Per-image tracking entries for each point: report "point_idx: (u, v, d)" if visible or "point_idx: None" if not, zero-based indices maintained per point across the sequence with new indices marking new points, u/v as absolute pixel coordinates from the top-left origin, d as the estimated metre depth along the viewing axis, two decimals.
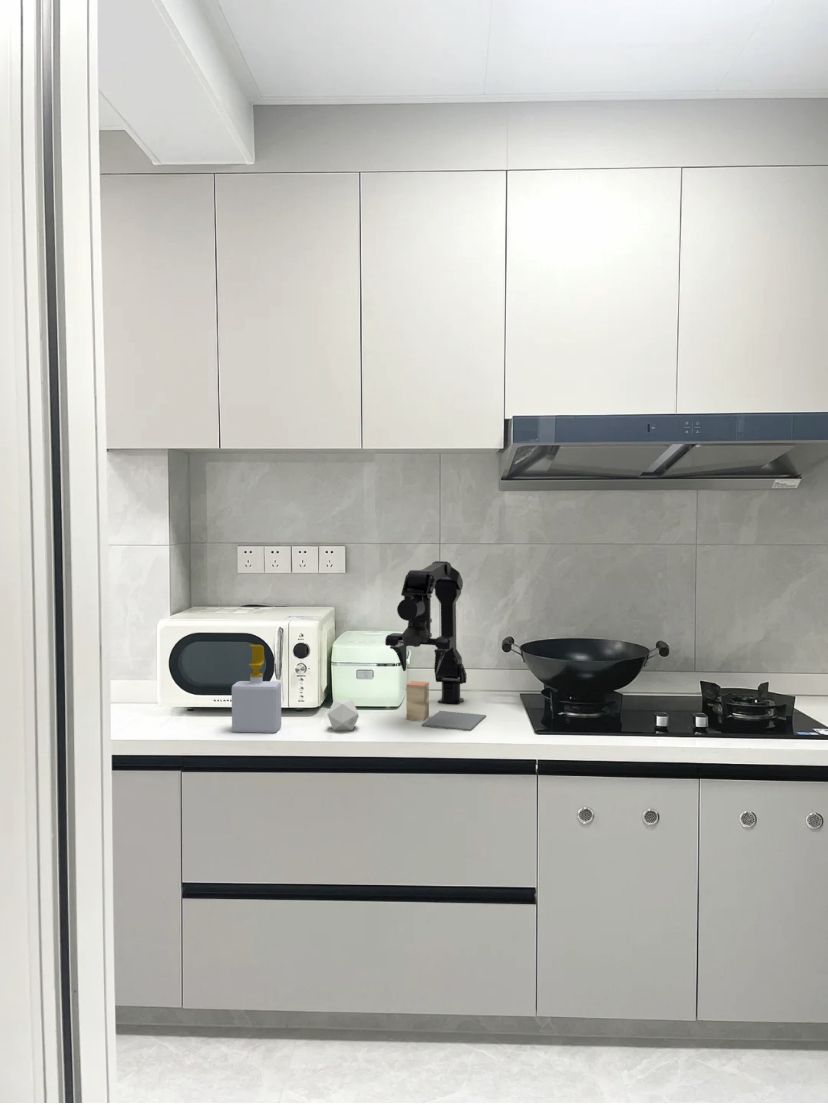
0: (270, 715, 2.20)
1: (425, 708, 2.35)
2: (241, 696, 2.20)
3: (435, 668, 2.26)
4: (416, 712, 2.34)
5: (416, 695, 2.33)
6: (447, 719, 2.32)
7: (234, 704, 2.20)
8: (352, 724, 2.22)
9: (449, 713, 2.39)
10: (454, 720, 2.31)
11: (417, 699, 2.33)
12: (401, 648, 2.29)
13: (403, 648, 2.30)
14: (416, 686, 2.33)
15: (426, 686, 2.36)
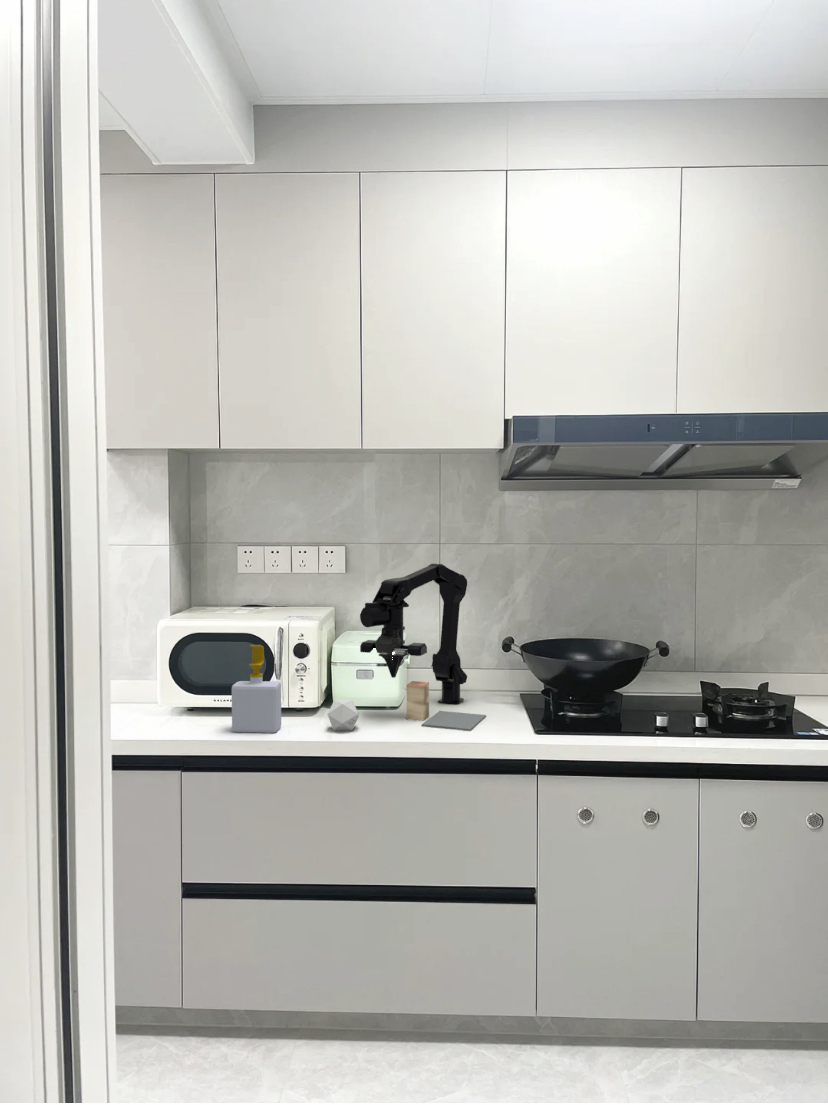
0: (270, 715, 2.20)
1: (425, 708, 2.35)
2: (241, 696, 2.20)
3: (393, 673, 2.37)
4: (416, 712, 2.34)
5: (416, 695, 2.33)
6: (447, 719, 2.32)
7: (234, 704, 2.20)
8: (352, 724, 2.22)
9: (449, 713, 2.39)
10: (454, 720, 2.31)
11: (417, 699, 2.33)
12: (389, 655, 2.37)
13: (391, 655, 2.38)
14: (416, 686, 2.33)
15: (426, 686, 2.35)
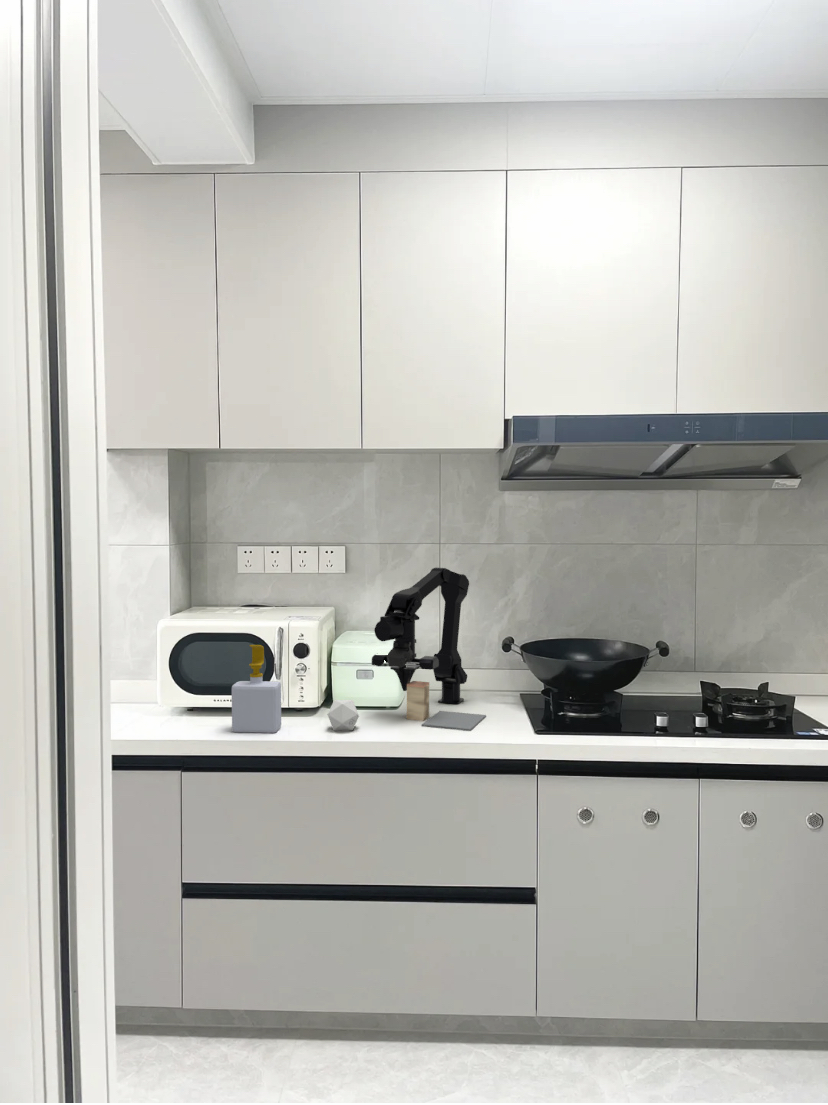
0: (270, 715, 2.20)
1: (425, 708, 2.35)
2: (241, 696, 2.20)
3: (404, 686, 2.36)
4: (416, 712, 2.34)
5: (416, 695, 2.33)
6: (447, 719, 2.32)
7: (234, 704, 2.20)
8: (352, 724, 2.22)
9: (449, 713, 2.39)
10: (454, 720, 2.31)
11: (417, 699, 2.33)
12: (401, 669, 2.36)
13: (403, 669, 2.37)
14: (416, 686, 2.33)
15: (427, 686, 2.35)
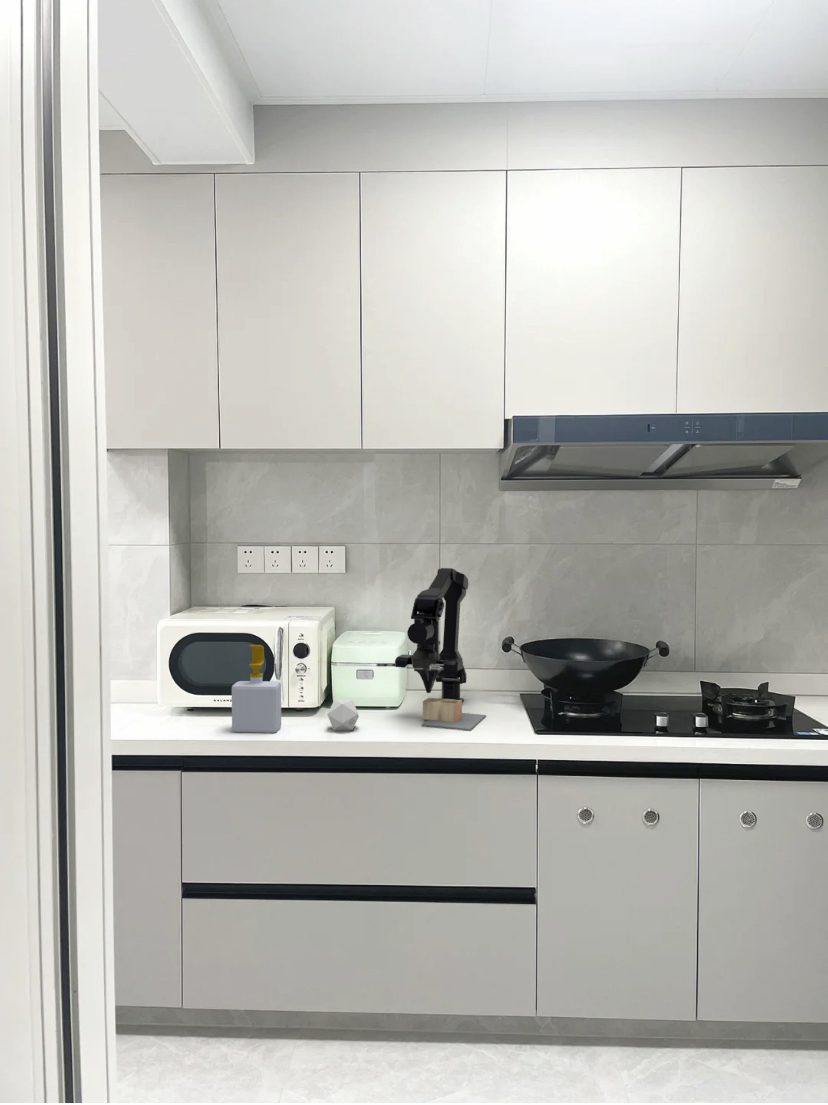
0: (270, 715, 2.20)
1: None
2: (241, 696, 2.20)
3: (428, 688, 2.34)
4: (430, 712, 2.32)
5: (446, 714, 2.30)
6: None
7: (234, 704, 2.20)
8: (352, 724, 2.22)
9: None
10: None
11: (442, 714, 2.31)
12: (425, 670, 2.33)
13: (427, 670, 2.35)
14: (455, 715, 2.30)
15: None
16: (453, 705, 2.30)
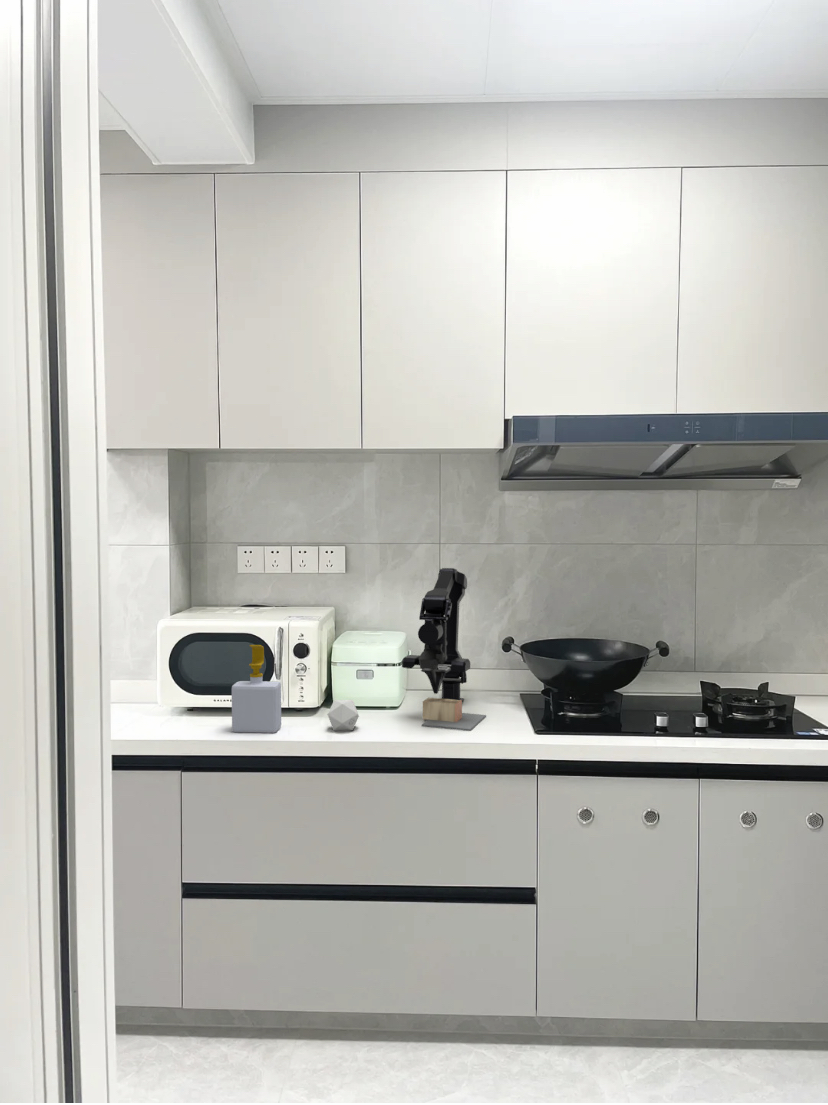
0: (270, 715, 2.20)
1: None
2: (241, 696, 2.20)
3: (436, 689, 2.33)
4: (430, 712, 2.32)
5: (446, 714, 2.30)
6: None
7: (234, 704, 2.20)
8: (352, 724, 2.22)
9: None
10: None
11: (442, 714, 2.31)
12: (432, 671, 2.33)
13: (434, 671, 2.34)
14: (455, 715, 2.30)
15: None
16: (453, 705, 2.30)
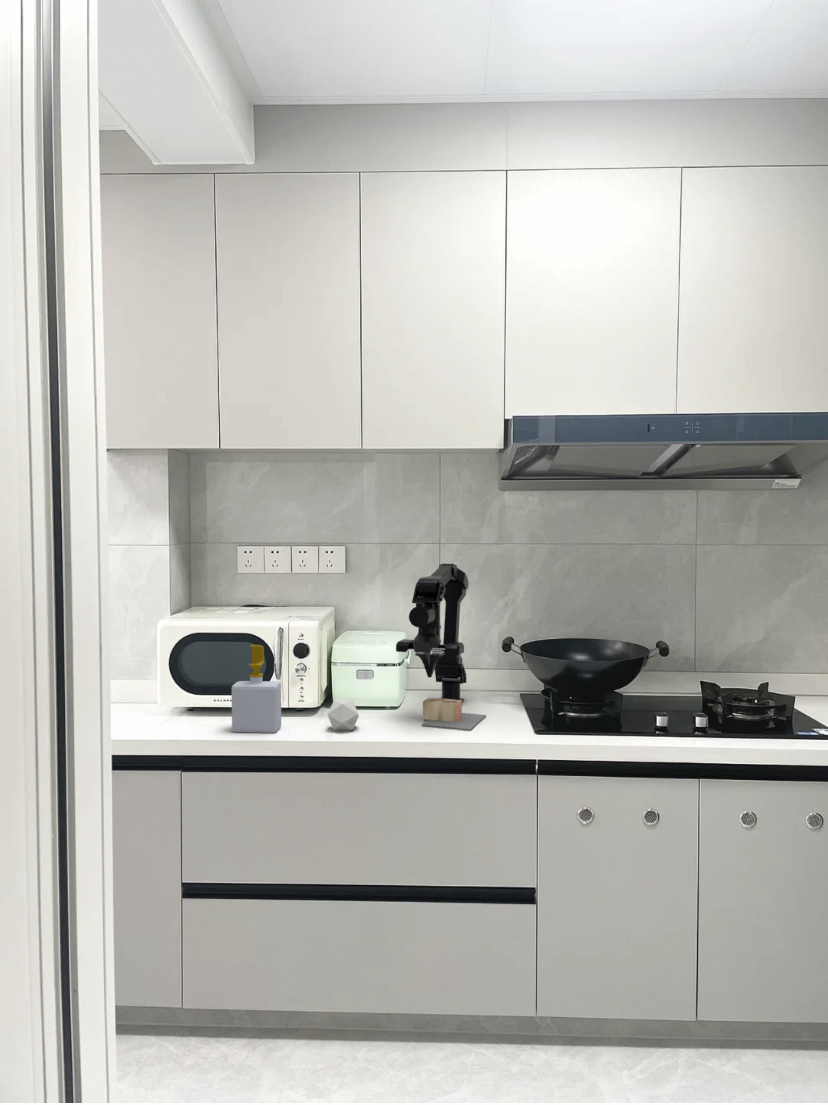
0: (270, 715, 2.20)
1: None
2: (241, 696, 2.20)
3: (430, 672, 2.33)
4: (430, 712, 2.32)
5: (446, 714, 2.30)
6: None
7: (234, 704, 2.20)
8: (352, 724, 2.22)
9: None
10: None
11: (442, 714, 2.31)
12: (426, 655, 2.33)
13: (428, 655, 2.34)
14: (455, 715, 2.30)
15: None
16: (453, 705, 2.30)
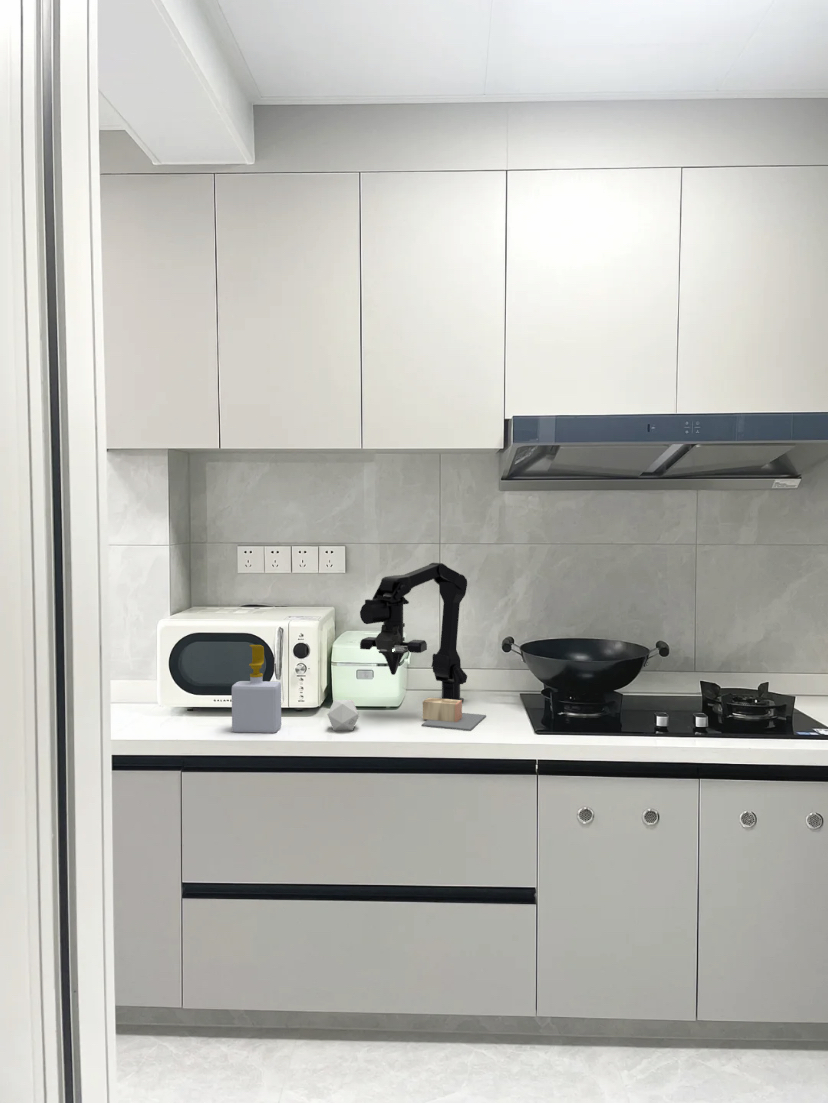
0: (270, 715, 2.20)
1: None
2: (241, 696, 2.20)
3: (393, 670, 2.37)
4: (430, 712, 2.32)
5: (446, 714, 2.30)
6: None
7: (234, 704, 2.20)
8: (352, 724, 2.22)
9: None
10: None
11: (442, 714, 2.31)
12: (389, 652, 2.37)
13: (391, 652, 2.38)
14: (455, 715, 2.30)
15: None
16: (453, 705, 2.30)
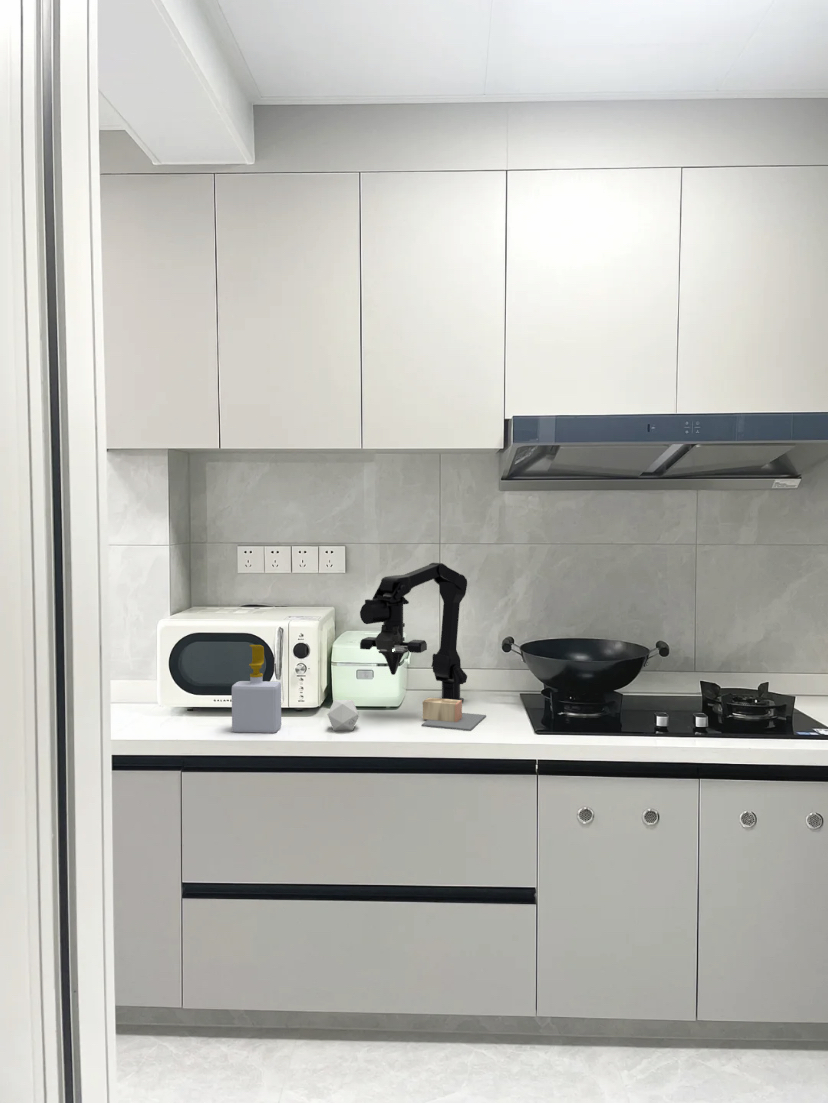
0: (270, 715, 2.20)
1: None
2: (241, 696, 2.20)
3: (393, 670, 2.37)
4: (430, 712, 2.32)
5: (446, 714, 2.30)
6: None
7: (234, 704, 2.20)
8: (352, 724, 2.22)
9: None
10: None
11: (442, 714, 2.31)
12: (389, 652, 2.37)
13: (391, 652, 2.38)
14: (455, 715, 2.30)
15: None
16: (453, 705, 2.30)
